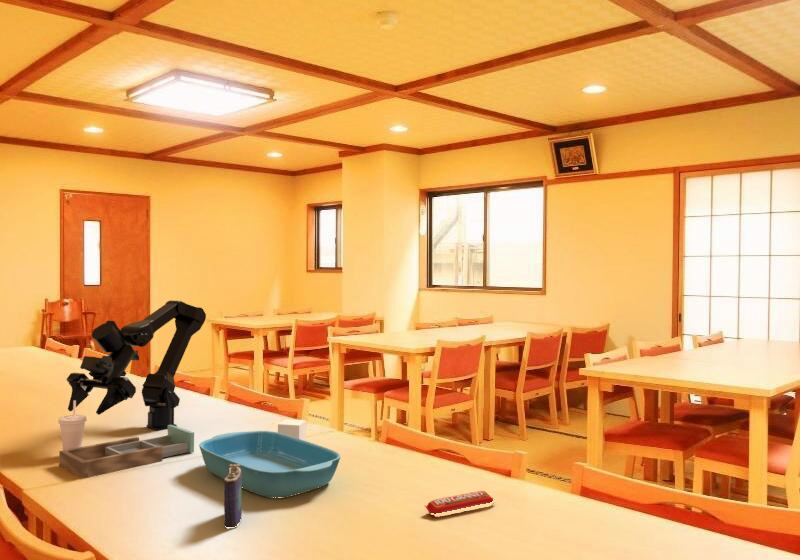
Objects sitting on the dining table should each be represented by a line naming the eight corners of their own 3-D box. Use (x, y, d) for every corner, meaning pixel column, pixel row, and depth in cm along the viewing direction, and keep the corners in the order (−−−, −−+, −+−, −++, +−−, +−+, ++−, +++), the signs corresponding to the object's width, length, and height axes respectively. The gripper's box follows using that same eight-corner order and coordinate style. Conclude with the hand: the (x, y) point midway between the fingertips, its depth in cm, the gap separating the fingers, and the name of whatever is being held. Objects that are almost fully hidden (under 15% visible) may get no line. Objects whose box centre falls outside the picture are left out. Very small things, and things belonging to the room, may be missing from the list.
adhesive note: (277, 446, 179) (277, 424, 179) (284, 440, 185) (285, 419, 185) (299, 447, 178) (299, 425, 178) (305, 441, 184) (306, 420, 184)
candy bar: (432, 521, 129) (432, 506, 129) (422, 515, 132) (422, 500, 132) (497, 507, 137) (498, 493, 137) (486, 501, 140) (487, 487, 140)
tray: (170, 443, 179) (171, 424, 179) (193, 451, 171) (194, 432, 171) (103, 456, 166) (103, 436, 165) (125, 466, 158) (125, 445, 158)
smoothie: (74, 460, 163) (75, 403, 162) (51, 458, 164) (52, 402, 164) (91, 453, 169) (92, 398, 169) (69, 451, 170) (70, 397, 170)
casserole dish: (358, 486, 148) (359, 454, 148) (276, 512, 132) (277, 476, 132) (261, 452, 173) (261, 425, 173) (182, 471, 157) (182, 440, 157)
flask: (228, 511, 131) (229, 457, 131) (243, 510, 132) (244, 457, 132) (222, 529, 122) (223, 472, 122) (238, 529, 123) (239, 471, 122)
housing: (136, 450, 173) (136, 436, 173) (162, 460, 164) (162, 446, 164) (59, 465, 158) (59, 451, 158) (82, 478, 150) (82, 462, 150)
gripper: (72, 342, 177) (36, 390, 167) (128, 346, 171) (95, 396, 161) (95, 368, 185) (61, 415, 175) (149, 372, 178) (118, 422, 168)
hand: (83, 412), depth 169 cm, fingers open, 9 cm apart
